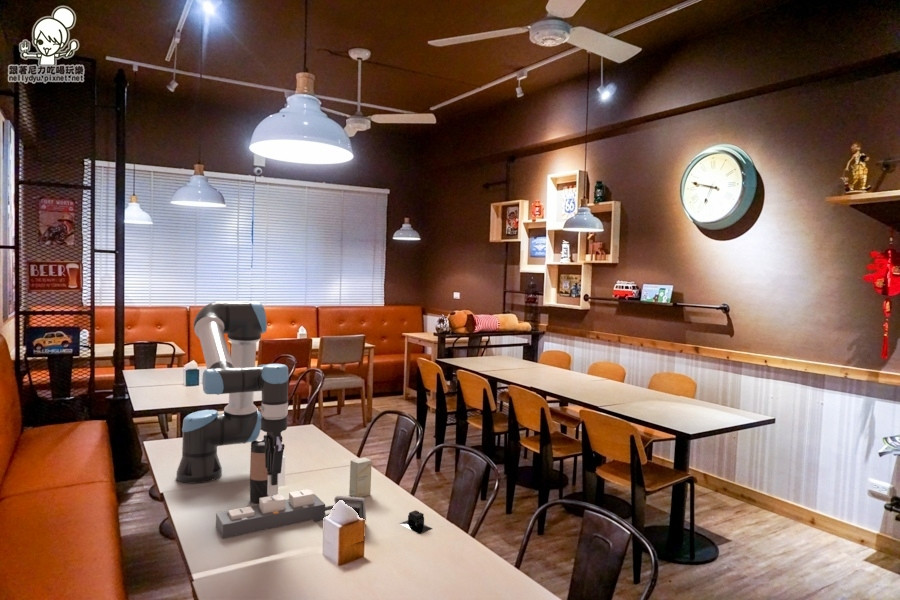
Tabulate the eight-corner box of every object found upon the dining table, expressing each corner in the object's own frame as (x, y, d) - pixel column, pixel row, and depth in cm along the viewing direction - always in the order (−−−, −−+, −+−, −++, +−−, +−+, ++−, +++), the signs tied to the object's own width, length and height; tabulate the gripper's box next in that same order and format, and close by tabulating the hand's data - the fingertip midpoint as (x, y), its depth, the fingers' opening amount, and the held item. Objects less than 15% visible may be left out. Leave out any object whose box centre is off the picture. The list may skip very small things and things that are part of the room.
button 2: (259, 514, 174) (259, 497, 174) (280, 510, 177) (280, 493, 177) (263, 519, 170) (263, 502, 170) (284, 515, 174) (285, 498, 173)
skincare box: (356, 498, 196) (357, 463, 195) (348, 494, 199) (349, 460, 198) (371, 494, 200) (372, 459, 200) (363, 490, 203) (364, 456, 203)
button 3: (288, 508, 179) (289, 492, 179) (308, 504, 182) (309, 488, 182) (293, 513, 175) (293, 497, 175) (313, 509, 179) (314, 493, 178)
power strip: (215, 529, 169) (216, 512, 169) (330, 506, 189) (331, 490, 189) (222, 542, 162) (223, 523, 162) (341, 516, 181) (342, 500, 181)
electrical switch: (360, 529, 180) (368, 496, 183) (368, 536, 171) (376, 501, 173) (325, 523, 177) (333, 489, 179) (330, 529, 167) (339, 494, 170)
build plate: (438, 531, 175) (438, 516, 175) (420, 538, 170) (421, 523, 170) (410, 518, 184) (411, 504, 183) (393, 524, 178) (393, 510, 178)
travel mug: (266, 508, 185) (267, 446, 184) (244, 505, 187) (246, 444, 186) (278, 499, 193) (279, 440, 192) (257, 496, 194) (258, 437, 193)
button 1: (227, 527, 169) (228, 510, 169) (250, 522, 172) (250, 505, 172) (231, 533, 165) (231, 515, 165) (254, 528, 169) (254, 511, 169)
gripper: (255, 413, 176) (253, 489, 177) (268, 423, 165) (266, 504, 166) (280, 410, 180) (278, 485, 181) (293, 420, 169) (291, 499, 170)
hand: (272, 494), depth 173 cm, fingers closed
